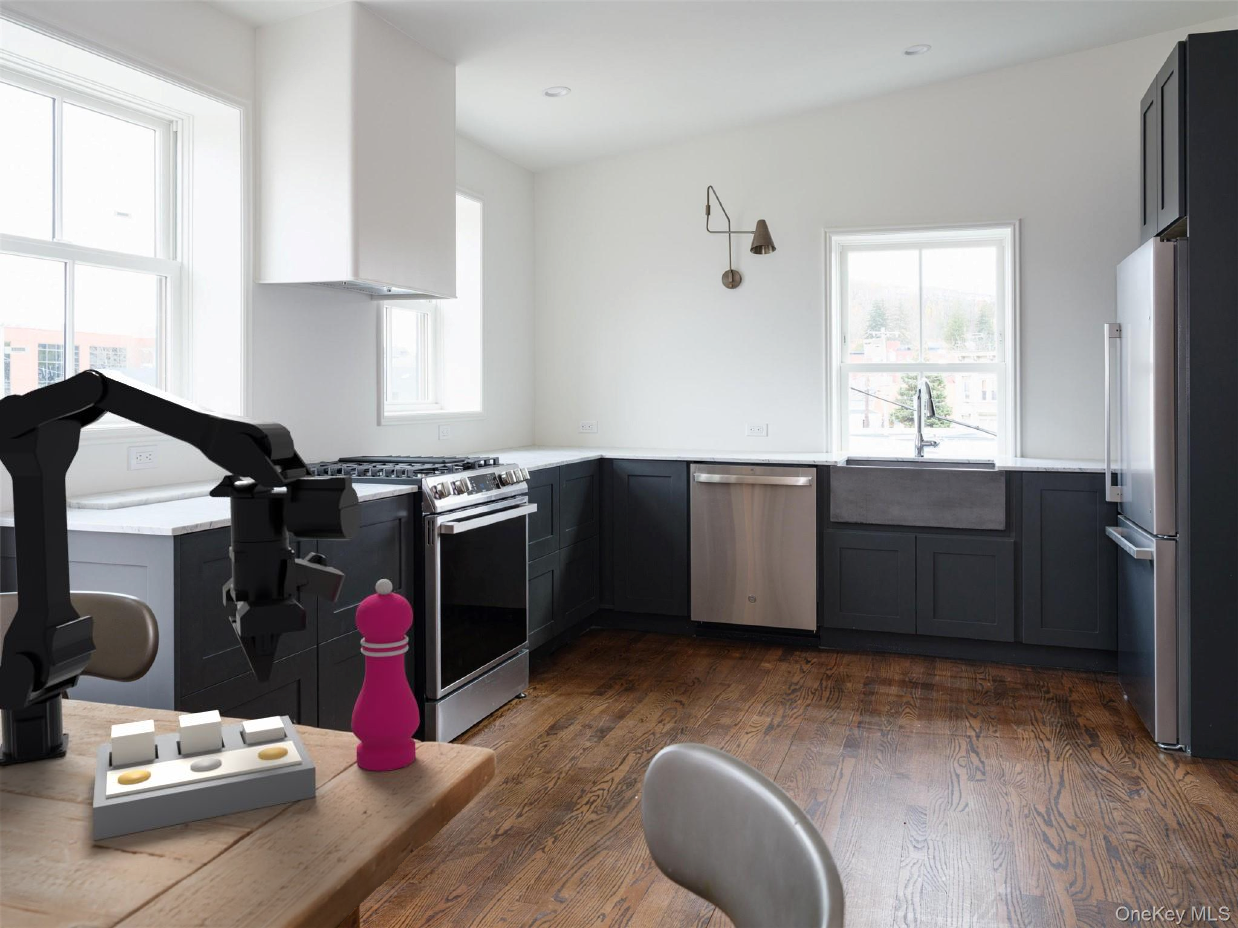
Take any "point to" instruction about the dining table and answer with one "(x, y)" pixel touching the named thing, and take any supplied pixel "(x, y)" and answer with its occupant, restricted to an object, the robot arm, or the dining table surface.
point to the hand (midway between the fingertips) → (263, 681)
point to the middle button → (200, 732)
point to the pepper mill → (385, 684)
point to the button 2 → (262, 730)
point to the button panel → (199, 781)
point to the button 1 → (133, 742)
